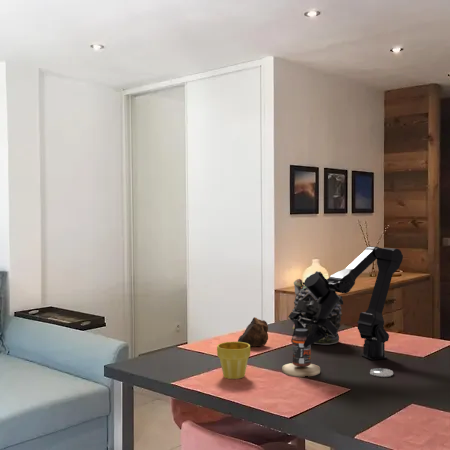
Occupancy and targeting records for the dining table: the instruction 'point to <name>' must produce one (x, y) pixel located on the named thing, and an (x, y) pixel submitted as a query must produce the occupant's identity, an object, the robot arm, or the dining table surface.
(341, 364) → the dining table surface
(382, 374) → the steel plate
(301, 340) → the supplement bottle
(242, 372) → the plant pot
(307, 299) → the decorative house
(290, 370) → the coaster
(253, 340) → the decorative rock
